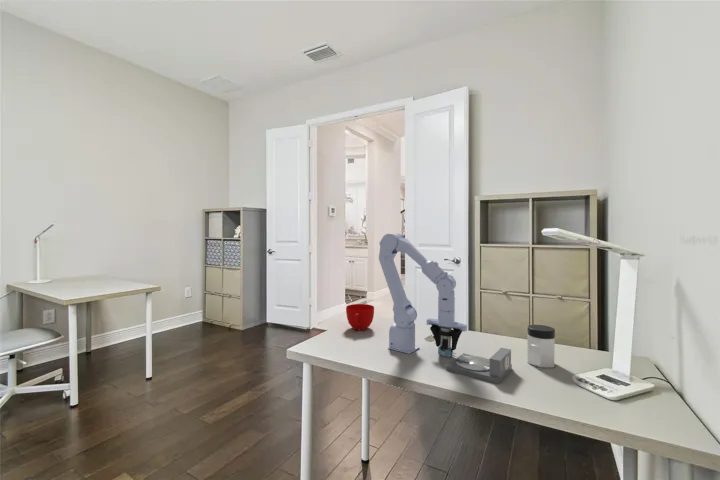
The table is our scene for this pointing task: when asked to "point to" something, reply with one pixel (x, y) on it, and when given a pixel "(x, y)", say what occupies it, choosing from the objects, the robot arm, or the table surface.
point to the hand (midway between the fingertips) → (446, 347)
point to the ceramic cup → (360, 315)
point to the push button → (445, 342)
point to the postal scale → (483, 366)
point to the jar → (541, 346)
